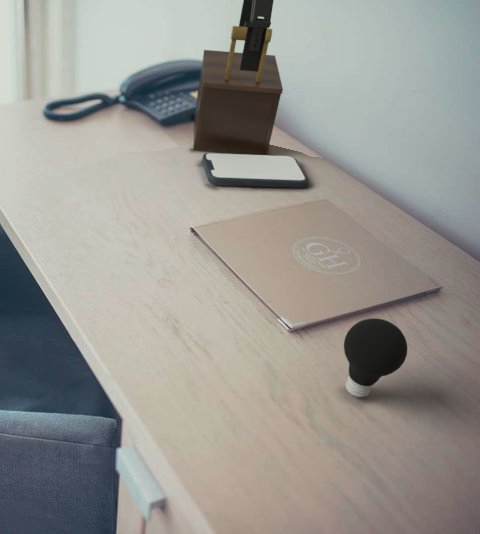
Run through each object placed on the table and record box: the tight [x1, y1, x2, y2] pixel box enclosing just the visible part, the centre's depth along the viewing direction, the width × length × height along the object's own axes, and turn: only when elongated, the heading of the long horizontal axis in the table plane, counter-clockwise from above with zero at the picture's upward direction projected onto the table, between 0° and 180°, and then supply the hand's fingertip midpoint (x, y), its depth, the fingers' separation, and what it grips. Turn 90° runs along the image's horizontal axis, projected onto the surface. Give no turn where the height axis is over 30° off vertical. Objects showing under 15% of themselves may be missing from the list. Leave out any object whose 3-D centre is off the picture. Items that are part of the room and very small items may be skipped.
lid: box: [202, 25, 284, 95], centre depth 107 cm, size 15×13×9 cm
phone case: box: [201, 152, 308, 189], centre depth 106 cm, size 9×2×16 cm
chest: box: [192, 59, 282, 155], centre depth 114 cm, size 15×13×12 cm
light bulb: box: [343, 318, 408, 398], centre depth 66 cm, size 6×6×10 cm
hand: (246, 54), depth 103 cm, fingers open, 13 cm apart
